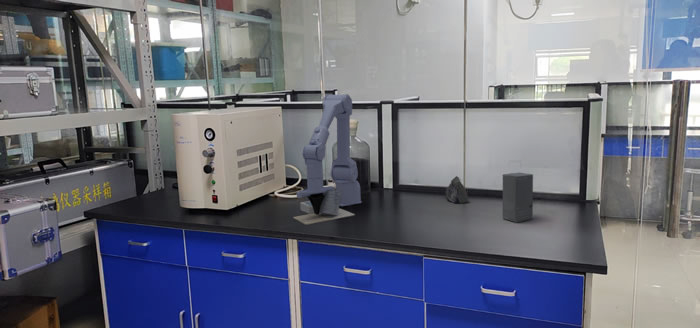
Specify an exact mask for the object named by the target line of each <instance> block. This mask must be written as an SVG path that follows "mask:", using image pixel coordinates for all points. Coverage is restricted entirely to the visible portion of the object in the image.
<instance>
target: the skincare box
mask: <svg viewBox="0 0 700 328" xmlns="http://www.w3.org/2000/svg"><path fill="white" fill-rule="evenodd" d="M533 190H534V174H532V173H527V172H526V173H525V172H524V173H523V172H511V173H503V174H502V219H503V220H506V221H511V222H514V223H516V224H517V223H520V222H526V221H528V220H533V213H534V212H533V205H534V202H533V197H534V195H533V193H534V192H533Z"/></svg>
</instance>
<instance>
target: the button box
mask: <svg viewBox="0 0 700 328" xmlns="http://www.w3.org/2000/svg"><path fill="white" fill-rule="evenodd" d="M309 201H310V200H308V201H302V202H301V201H300V202H299V203H300V207H299V208H300V211H301V212H303V213H306V214H313V213H314V210H313V207H312V206H310V205H308V204H307V202H309Z"/></svg>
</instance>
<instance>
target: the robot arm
mask: <svg viewBox="0 0 700 328" xmlns="http://www.w3.org/2000/svg"><path fill="white" fill-rule="evenodd" d="M322 109H323V112H322V116H321V118H320V121H319V125H318V126H317V127H315V128H314V129H313V132H312V135H311V137H310V140H309V142H308V144H306V145H305V146H304V147H303V149H302V152H301V153H302V157H303V159H304V164H305V166H306V181H307V182H306V185H307V188H306V189H303V190H299V191H298V190H297V191H296V198H299V199H301V198H303V197H307V199H308V201H310V202H311V204H312V207H313V210H314V214H316V215H318V214H319V211H320V207H321V204H322V201H323V199H324V195H323V193H325V192H326V191H328V190H329V191H338V192H341V197H340V204H339V207H346V206H352V205H357V204H361V203H363V201H362V200H361V199H362V198H361V195H362V194H361V186H360V183H359V181H358V180H357V179H358V176H359V173H358V172H359V170H358V167H357V162H356V161H355V160H354V159H352V157H351V153H350V152H351V151H350V150H351V142H350V141H351V139H350V138H351V135H350V133H351V124H350V123H351V121H350V120H351V119H350V118H351V117H350V116H352V115H353V100H352V98H351V96H350V95H349V94H348V93H345V94H325V95H324V97H323V101H322ZM334 118H336V155H337V156H336V158H335V159H333V160H332V162H331V169H330V177H331V179H332V180H333V183H335V186H333V185H331V186H324V174H323V173H324V171H323V160H324V159H325V156H326V145H327V142H328V139H329V137H330V130H329V128H330V126H331V124H332V123H333V120H334Z"/></svg>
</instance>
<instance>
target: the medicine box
mask: <svg viewBox="0 0 700 328" xmlns="http://www.w3.org/2000/svg"><path fill="white" fill-rule="evenodd" d="M323 195H324V199H323V201H322V204H321V207H320V211H319V213H322V214H329V215H336V216H337V215H338V211H339V209H340V206H339V204H340V197H341V192H338V191H336V190H334V191H329V190H328V191H326V192H325V193H323Z"/></svg>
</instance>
